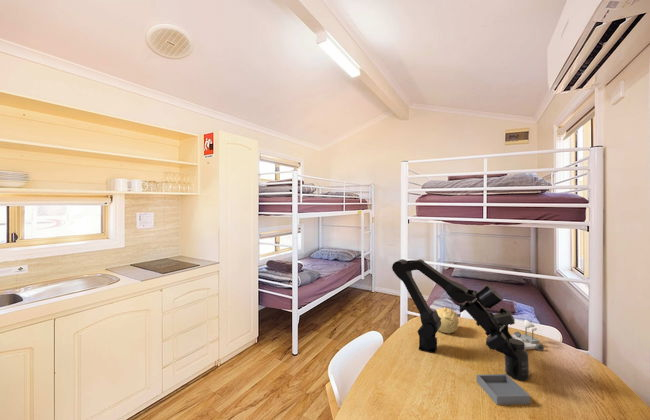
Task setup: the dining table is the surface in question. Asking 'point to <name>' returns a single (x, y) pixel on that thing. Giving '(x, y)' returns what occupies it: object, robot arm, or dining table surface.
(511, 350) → the robot arm
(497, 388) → the holder tray
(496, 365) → the dining table surface
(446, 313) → the sculpture
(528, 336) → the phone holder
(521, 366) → the supplement bottle
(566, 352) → the dining table surface
